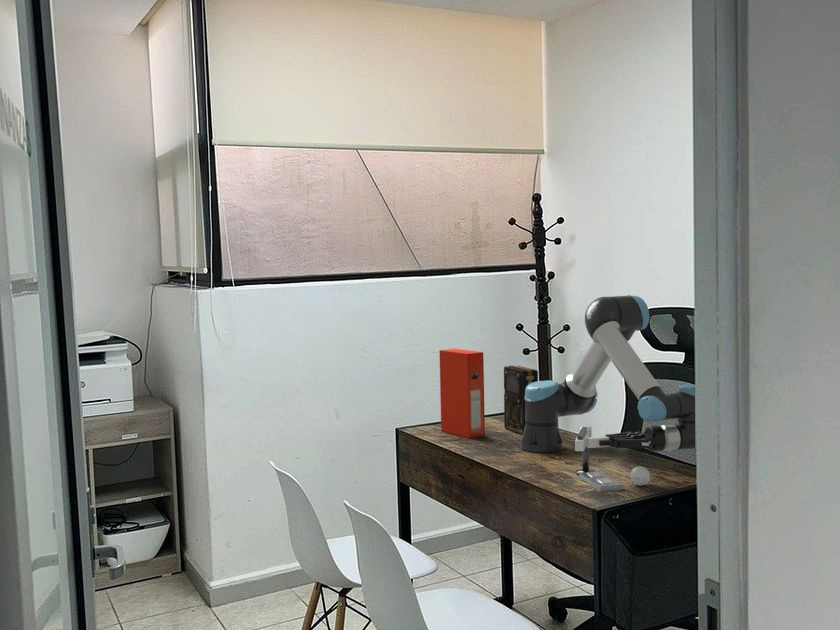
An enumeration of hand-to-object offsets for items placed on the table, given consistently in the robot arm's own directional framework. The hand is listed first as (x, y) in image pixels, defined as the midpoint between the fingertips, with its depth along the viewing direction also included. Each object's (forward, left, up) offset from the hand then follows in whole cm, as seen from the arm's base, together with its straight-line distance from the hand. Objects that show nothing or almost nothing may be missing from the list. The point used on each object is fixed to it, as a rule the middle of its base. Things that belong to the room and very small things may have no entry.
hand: (587, 442), depth 255 cm
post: (-13, +5, -13) cm, 19 cm away
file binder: (-83, -17, -13) cm, 86 cm away
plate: (-1, +5, -13) cm, 14 cm away
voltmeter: (-81, +6, -13) cm, 82 cm away
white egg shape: (+4, +15, -13) cm, 21 cm away
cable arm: (-5, +1, -2) cm, 6 cm away
